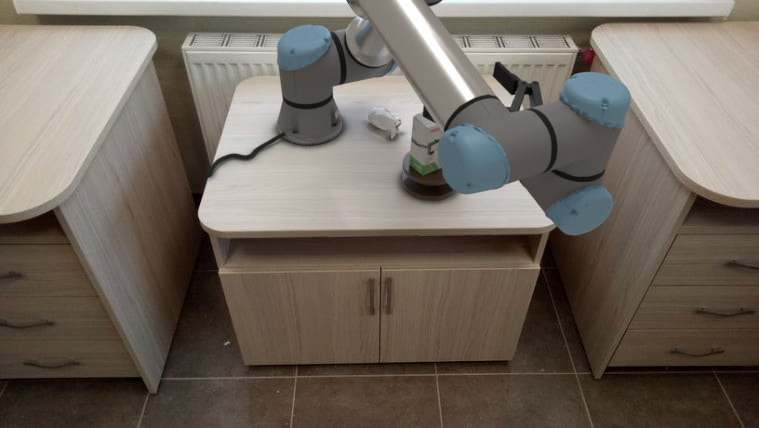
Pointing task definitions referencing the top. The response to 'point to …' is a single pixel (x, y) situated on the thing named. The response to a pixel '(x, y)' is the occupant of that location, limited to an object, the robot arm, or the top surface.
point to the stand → (425, 183)
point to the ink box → (424, 145)
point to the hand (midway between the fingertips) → (460, 74)
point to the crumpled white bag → (384, 119)
